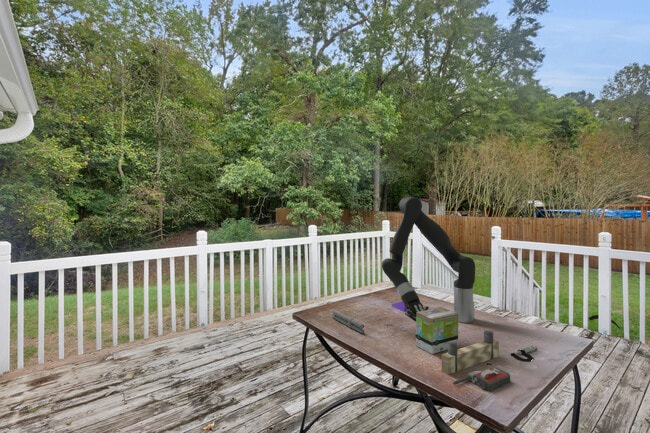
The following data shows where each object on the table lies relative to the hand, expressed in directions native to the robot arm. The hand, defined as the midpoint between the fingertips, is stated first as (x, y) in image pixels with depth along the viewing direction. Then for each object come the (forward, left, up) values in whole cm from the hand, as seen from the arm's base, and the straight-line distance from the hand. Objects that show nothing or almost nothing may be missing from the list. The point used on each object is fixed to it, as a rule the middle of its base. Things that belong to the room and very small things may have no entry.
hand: (427, 328), depth 142 cm
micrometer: (-25, +29, -7) cm, 39 cm away
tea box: (0, +6, -6) cm, 8 cm away
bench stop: (0, +22, -6) cm, 23 cm away
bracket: (-22, -41, -6) cm, 47 cm away
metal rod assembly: (+20, -34, -6) cm, 40 cm away
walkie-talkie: (+8, +33, -6) cm, 35 cm away
